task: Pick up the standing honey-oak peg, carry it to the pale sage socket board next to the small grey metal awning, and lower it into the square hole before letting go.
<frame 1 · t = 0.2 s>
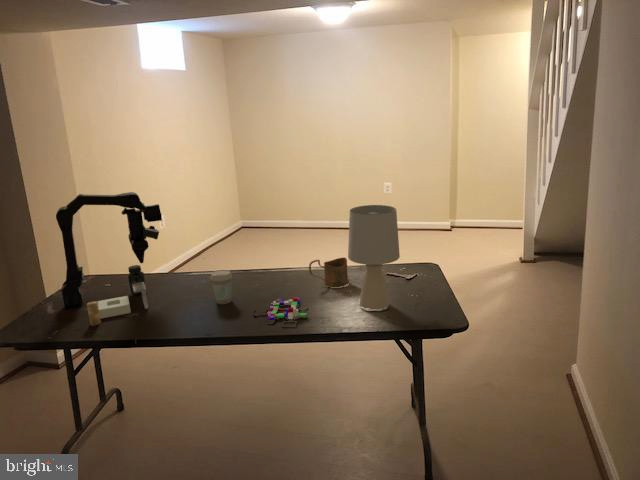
hand: (140, 260, 211), 14 cm above the table, fingers open, 9 cm apart
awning: (145, 305, 202), on the table
building block set: (280, 315, 189), on the table
socket block: (114, 311, 198), on the table
peg: (95, 323, 187), on the table
lamp: (374, 307, 190), on the table
supplement bottle: (138, 294, 215), on the table
mug: (329, 285, 214), on the table
coffee cup: (223, 301, 202), on the table
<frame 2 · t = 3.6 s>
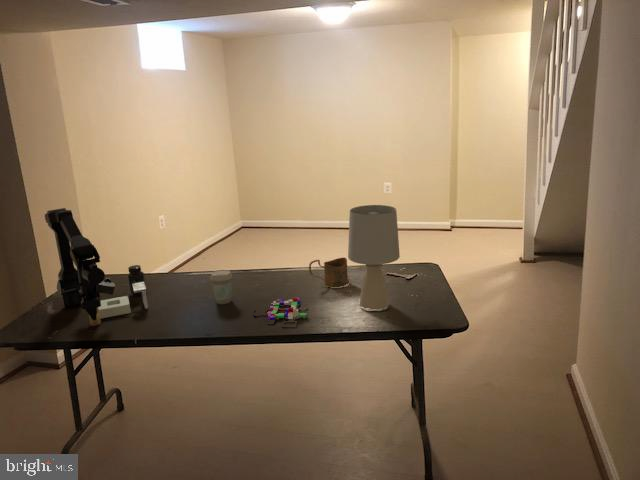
hand: (94, 317, 186), 2 cm above the table, fingers closed on peg, 4 cm apart
peg: (95, 323, 187), on the table, touching gripper
everything else where it was.
when the fingers open (4 cm above the table, at t = 7.7 s): peg drops 2 cm, resting in socket block.
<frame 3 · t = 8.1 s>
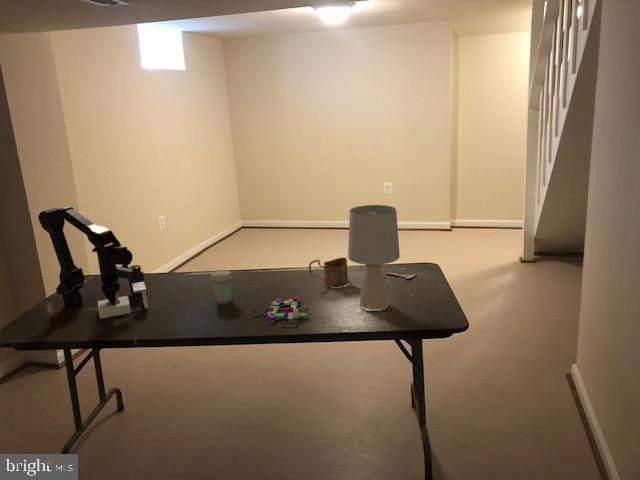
hand: (113, 301, 197), 4 cm above the table, fingers open, 8 cm apart
peg: (114, 311, 198), resting in socket block
everything else where it was.
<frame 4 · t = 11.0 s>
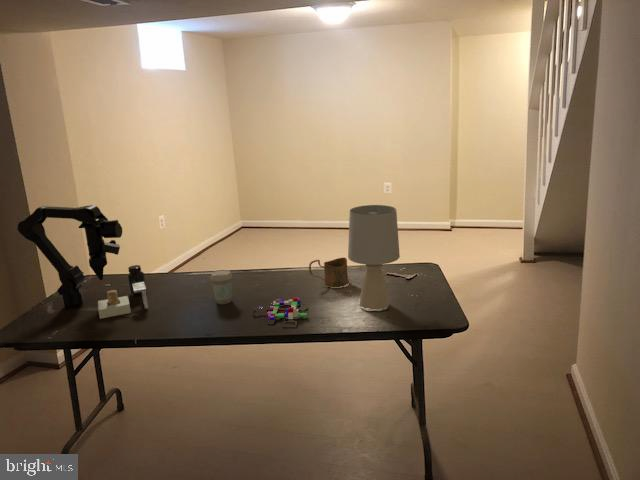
hand: (101, 276, 201), 12 cm above the table, fingers open, 9 cm apart
nothing on the table moved.
at the end: peg 0.0 cm off-centre on the socket block, point 0.0 cm above the socket block's base; peg tilted 0°; the gripper is holding nothing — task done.
